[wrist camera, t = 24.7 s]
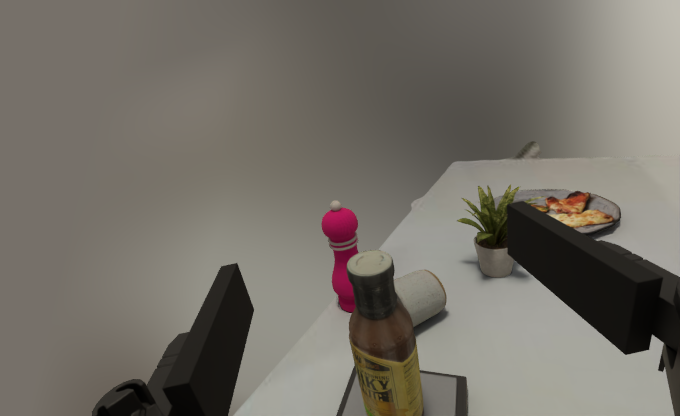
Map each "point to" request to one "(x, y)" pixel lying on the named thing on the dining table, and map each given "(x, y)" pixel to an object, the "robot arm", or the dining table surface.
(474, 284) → the dining table surface
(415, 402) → the sauce bottle
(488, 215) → the house plant
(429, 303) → the ceramic mug
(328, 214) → the pepper mill
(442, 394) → the scale
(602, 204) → the food plate
